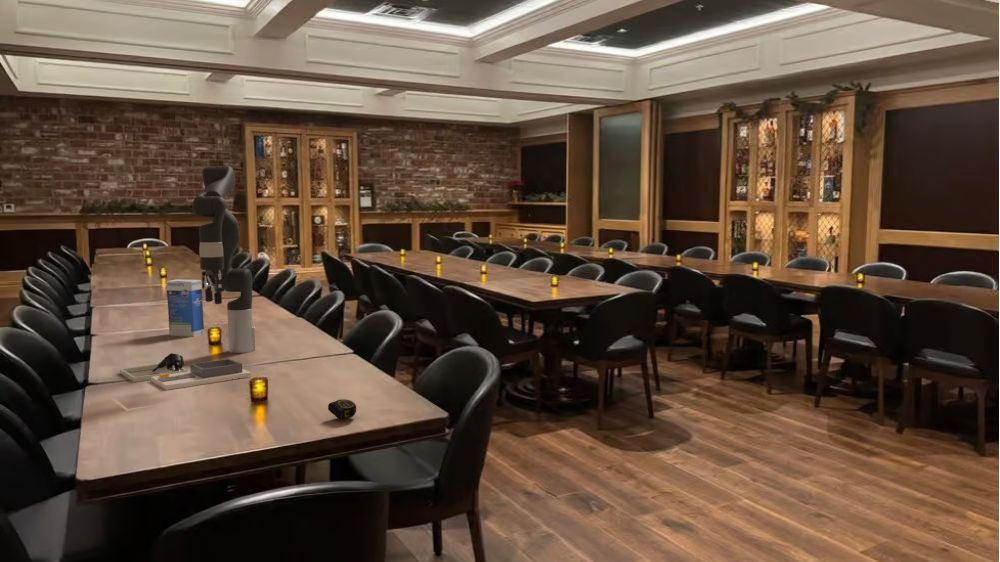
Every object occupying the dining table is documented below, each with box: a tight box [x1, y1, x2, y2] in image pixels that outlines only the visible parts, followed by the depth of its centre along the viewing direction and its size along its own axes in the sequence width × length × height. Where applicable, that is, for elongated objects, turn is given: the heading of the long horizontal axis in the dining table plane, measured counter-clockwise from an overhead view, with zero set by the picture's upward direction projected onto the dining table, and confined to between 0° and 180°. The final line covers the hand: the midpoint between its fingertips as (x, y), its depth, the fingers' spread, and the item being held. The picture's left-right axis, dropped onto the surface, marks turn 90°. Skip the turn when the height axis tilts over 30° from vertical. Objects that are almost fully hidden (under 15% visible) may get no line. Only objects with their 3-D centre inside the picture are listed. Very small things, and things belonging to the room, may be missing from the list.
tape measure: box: [327, 398, 357, 420], centre depth 204 cm, size 7×7×4 cm
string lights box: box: [166, 279, 205, 338], centre depth 328 cm, size 13×8×26 cm, turn 74°
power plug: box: [152, 352, 185, 372], centre depth 258 cm, size 6×8×12 cm
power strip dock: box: [150, 358, 252, 391], centre depth 250 cm, size 28×16×4 cm, turn 131°
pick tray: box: [119, 363, 189, 383], centre depth 258 cm, size 18×18×2 cm
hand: (213, 302), depth 251 cm, fingers open, 8 cm apart
